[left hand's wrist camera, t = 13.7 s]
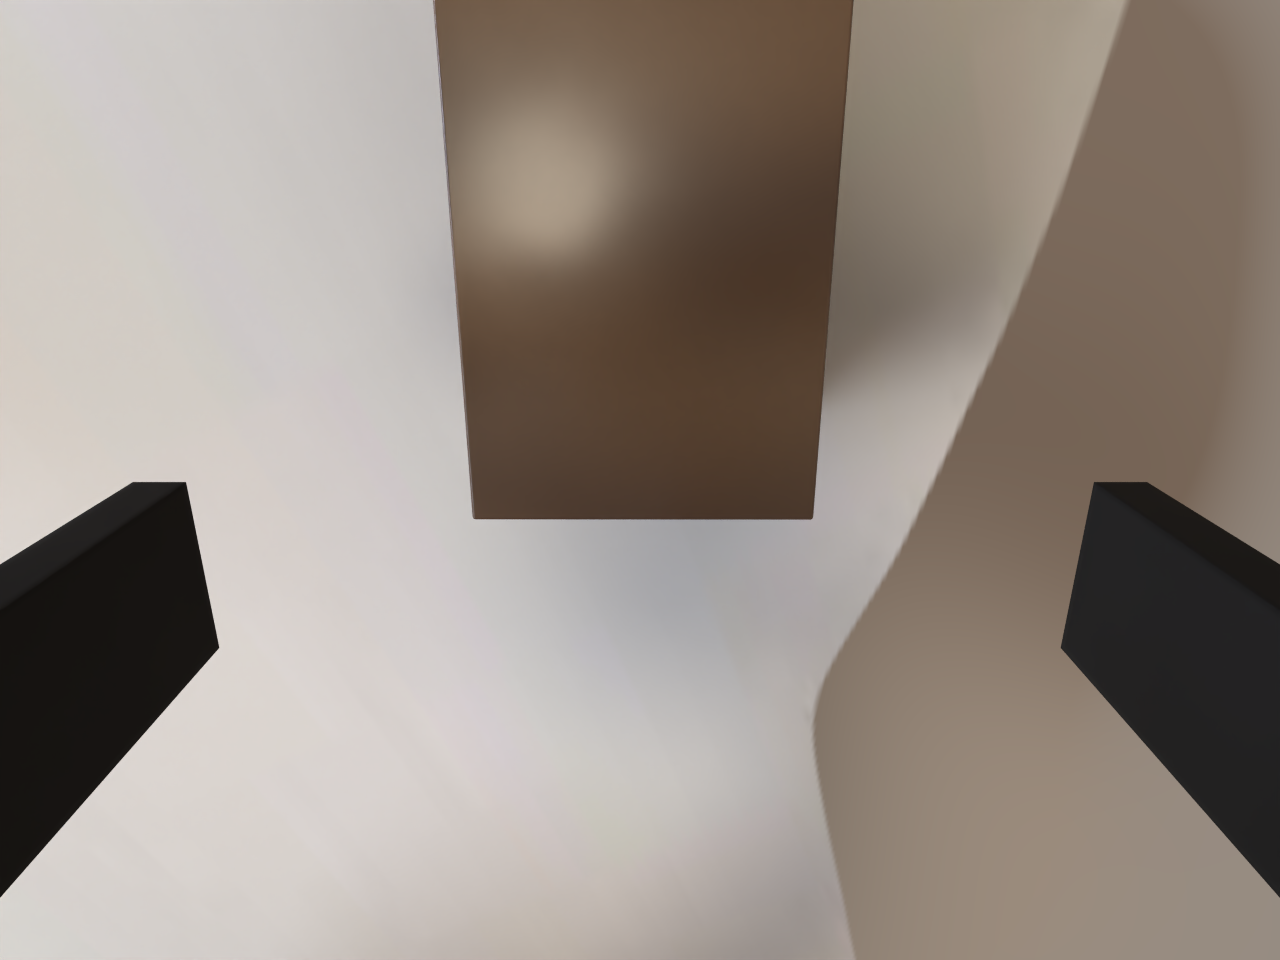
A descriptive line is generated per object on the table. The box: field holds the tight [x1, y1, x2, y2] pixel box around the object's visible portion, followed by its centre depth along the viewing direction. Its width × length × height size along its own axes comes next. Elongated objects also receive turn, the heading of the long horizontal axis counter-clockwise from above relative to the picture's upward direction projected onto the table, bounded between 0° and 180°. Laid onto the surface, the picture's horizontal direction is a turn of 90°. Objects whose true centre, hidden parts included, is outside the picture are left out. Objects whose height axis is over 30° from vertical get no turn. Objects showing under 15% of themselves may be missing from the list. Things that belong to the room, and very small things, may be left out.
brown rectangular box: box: [433, 0, 854, 519], centre depth 26 cm, size 19×10×10 cm, turn 0°
